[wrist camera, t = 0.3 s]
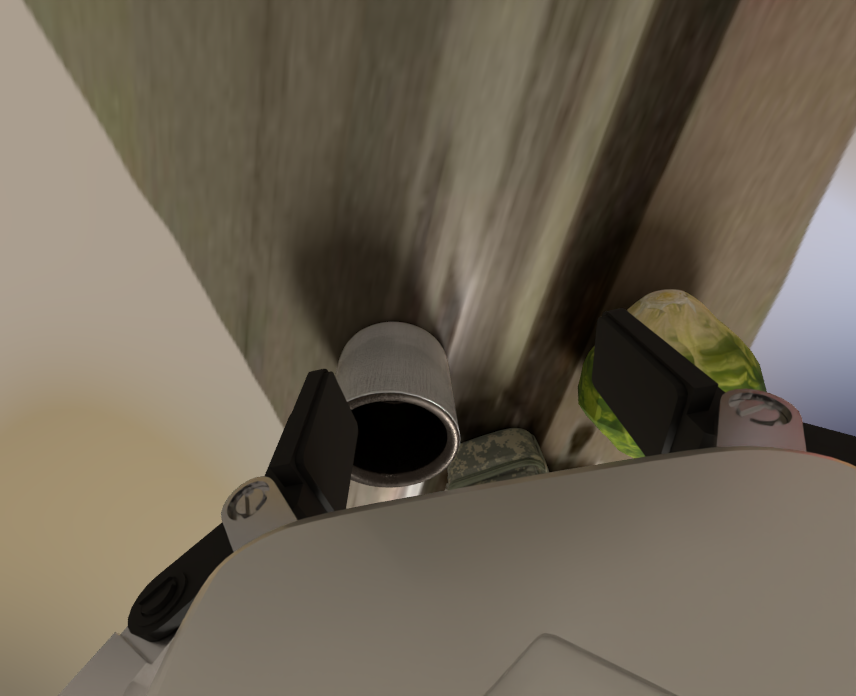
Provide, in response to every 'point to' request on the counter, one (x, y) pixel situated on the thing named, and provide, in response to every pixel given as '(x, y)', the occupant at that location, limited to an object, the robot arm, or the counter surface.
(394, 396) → the planter
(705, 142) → the counter surface
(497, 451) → the lunch bag
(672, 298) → the lettuce
